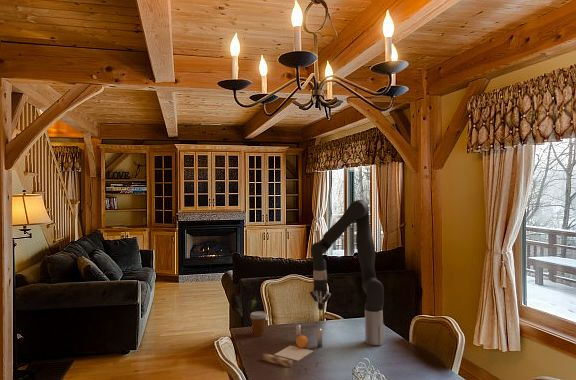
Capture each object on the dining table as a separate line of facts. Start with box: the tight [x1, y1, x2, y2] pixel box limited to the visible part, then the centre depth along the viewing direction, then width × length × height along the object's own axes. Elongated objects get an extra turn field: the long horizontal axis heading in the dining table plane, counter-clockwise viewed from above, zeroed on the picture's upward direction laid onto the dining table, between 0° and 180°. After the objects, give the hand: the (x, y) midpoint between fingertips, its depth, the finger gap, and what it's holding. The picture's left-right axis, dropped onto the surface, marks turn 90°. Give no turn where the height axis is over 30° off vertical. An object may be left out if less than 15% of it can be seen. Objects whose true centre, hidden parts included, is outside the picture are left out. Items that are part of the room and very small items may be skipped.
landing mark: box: [273, 345, 314, 362], centre depth 202 cm, size 14×14×1 cm
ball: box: [295, 334, 309, 349], centre depth 209 cm, size 6×6×6 cm
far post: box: [295, 323, 302, 341], centre depth 217 cm, size 3×3×9 cm
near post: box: [316, 327, 323, 349], centre depth 210 cm, size 3×3×9 cm
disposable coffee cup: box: [249, 310, 268, 337], centre depth 230 cm, size 10×10×12 cm
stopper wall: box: [262, 353, 294, 368], centre depth 191 cm, size 16×2×2 cm, turn 55°
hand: (320, 309), depth 225 cm, fingers closed
